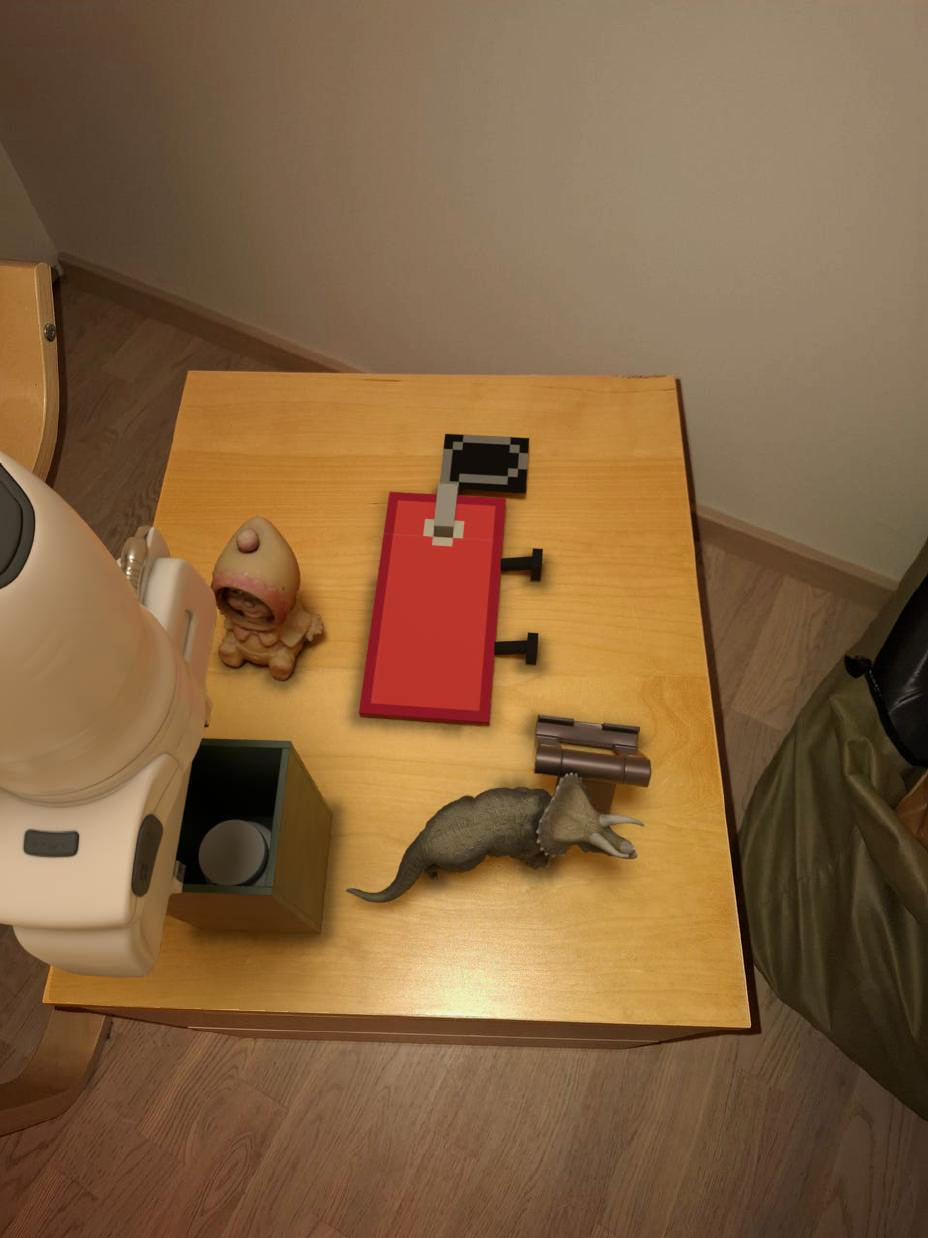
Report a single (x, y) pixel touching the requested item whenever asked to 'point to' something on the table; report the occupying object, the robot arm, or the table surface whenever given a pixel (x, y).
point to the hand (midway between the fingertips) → (184, 794)
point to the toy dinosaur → (507, 833)
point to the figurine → (261, 600)
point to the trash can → (274, 797)
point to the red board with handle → (446, 589)
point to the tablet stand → (591, 756)
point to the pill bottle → (235, 854)
